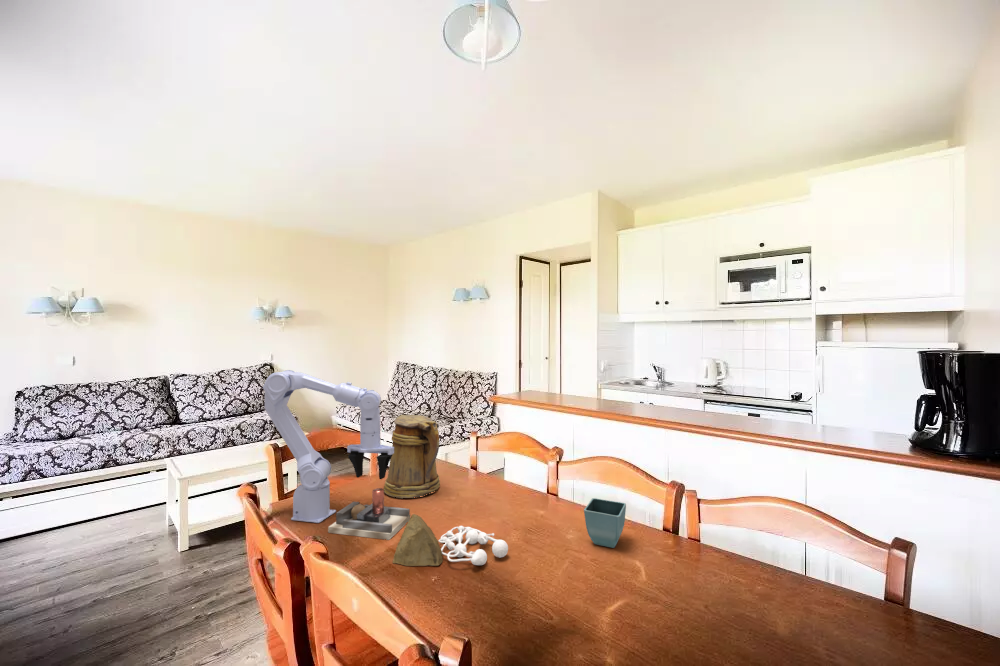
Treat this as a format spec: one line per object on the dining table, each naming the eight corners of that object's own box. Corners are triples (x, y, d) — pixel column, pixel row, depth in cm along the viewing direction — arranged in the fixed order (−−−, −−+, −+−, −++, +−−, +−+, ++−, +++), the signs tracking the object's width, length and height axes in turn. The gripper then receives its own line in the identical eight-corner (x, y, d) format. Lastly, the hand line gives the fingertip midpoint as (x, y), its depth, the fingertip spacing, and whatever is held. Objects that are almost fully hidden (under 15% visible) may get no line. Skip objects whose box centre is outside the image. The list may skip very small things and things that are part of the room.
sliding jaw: (356, 525, 108) (356, 494, 108) (373, 513, 116) (373, 484, 116) (377, 527, 107) (376, 496, 107) (392, 515, 114) (391, 485, 115)
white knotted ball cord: (424, 547, 103) (422, 531, 103) (473, 527, 111) (471, 512, 111) (461, 582, 87) (459, 562, 87) (515, 555, 95) (513, 538, 95)
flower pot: (583, 546, 100) (583, 509, 100) (592, 531, 107) (592, 497, 108) (620, 554, 96) (619, 516, 96) (627, 538, 103) (626, 503, 104)
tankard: (414, 477, 152) (414, 410, 152) (460, 490, 137) (459, 417, 138) (373, 491, 138) (373, 417, 138) (418, 508, 123) (418, 426, 124)
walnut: (348, 521, 111) (348, 507, 111) (356, 515, 115) (356, 501, 115) (361, 523, 110) (361, 508, 110) (369, 516, 114) (369, 502, 114)
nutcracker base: (328, 532, 108) (328, 515, 108) (354, 513, 120) (354, 498, 120) (389, 539, 104) (389, 522, 104) (410, 519, 115) (410, 503, 115)
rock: (455, 549, 94) (429, 529, 101) (440, 528, 90) (414, 510, 97) (423, 592, 89) (397, 569, 95) (405, 573, 84) (380, 550, 91)
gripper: (340, 433, 119) (341, 480, 119) (385, 435, 115) (385, 483, 115) (354, 428, 126) (355, 472, 125) (397, 430, 122) (397, 475, 122)
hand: (370, 477), depth 121 cm, fingers open, 7 cm apart
